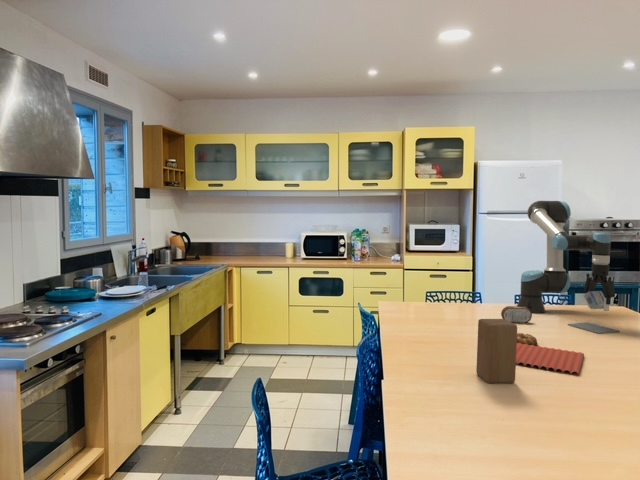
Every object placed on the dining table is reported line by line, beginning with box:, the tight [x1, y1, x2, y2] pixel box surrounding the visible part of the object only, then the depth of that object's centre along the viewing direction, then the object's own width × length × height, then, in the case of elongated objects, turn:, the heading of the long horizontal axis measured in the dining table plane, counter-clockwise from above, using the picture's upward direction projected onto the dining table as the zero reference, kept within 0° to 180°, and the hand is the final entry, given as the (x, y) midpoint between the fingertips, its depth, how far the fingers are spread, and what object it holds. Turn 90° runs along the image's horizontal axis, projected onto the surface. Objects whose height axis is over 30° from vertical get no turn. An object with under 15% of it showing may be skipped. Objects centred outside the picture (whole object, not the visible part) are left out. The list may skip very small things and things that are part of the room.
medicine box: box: [583, 290, 606, 310], centre depth 237 cm, size 8×4×9 cm
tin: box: [500, 305, 533, 324], centre depth 249 cm, size 15×3×8 cm, turn 84°
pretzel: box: [517, 332, 538, 346], centre depth 210 cm, size 12×11×4 cm
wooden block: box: [475, 318, 518, 384], centre depth 163 cm, size 10×10×20 cm
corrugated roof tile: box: [516, 343, 585, 377], centre depth 187 cm, size 28×28×2 cm
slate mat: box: [567, 321, 621, 334], centre depth 239 cm, size 18×14×1 cm
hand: (598, 309), depth 237 cm, fingers closed on medicine box, 8 cm apart
